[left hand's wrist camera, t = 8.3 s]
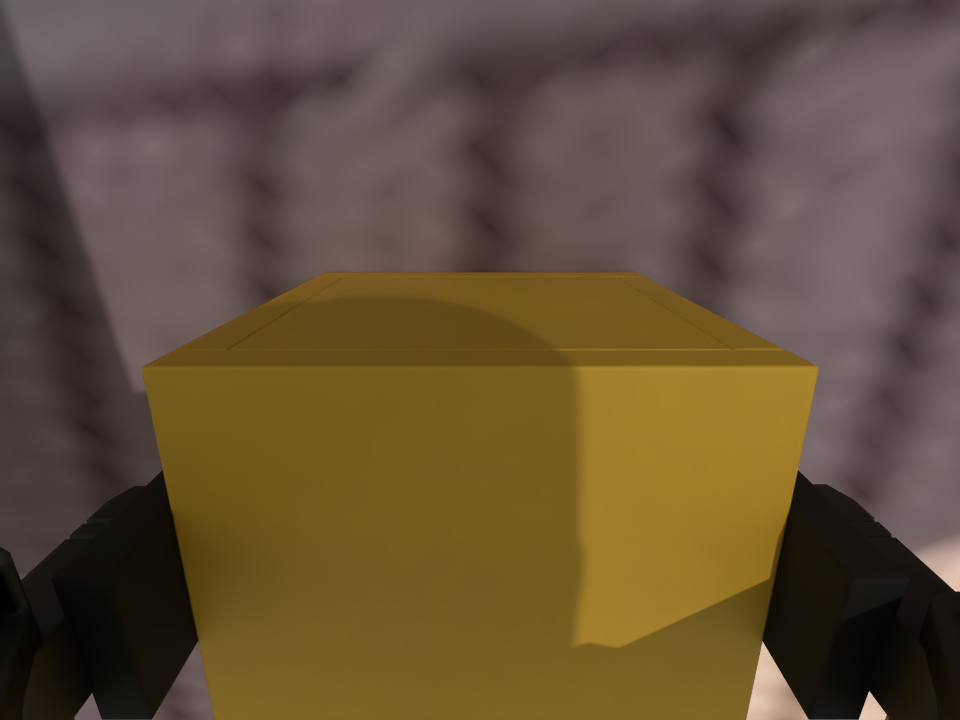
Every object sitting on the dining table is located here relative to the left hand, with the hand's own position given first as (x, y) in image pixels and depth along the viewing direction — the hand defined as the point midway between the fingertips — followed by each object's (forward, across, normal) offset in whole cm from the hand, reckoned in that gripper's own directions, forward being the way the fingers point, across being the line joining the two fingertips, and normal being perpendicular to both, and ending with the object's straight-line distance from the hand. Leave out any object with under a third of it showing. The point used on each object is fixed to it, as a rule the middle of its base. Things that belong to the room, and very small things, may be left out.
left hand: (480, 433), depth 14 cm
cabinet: (+4, 0, -5) cm, 7 cm away
